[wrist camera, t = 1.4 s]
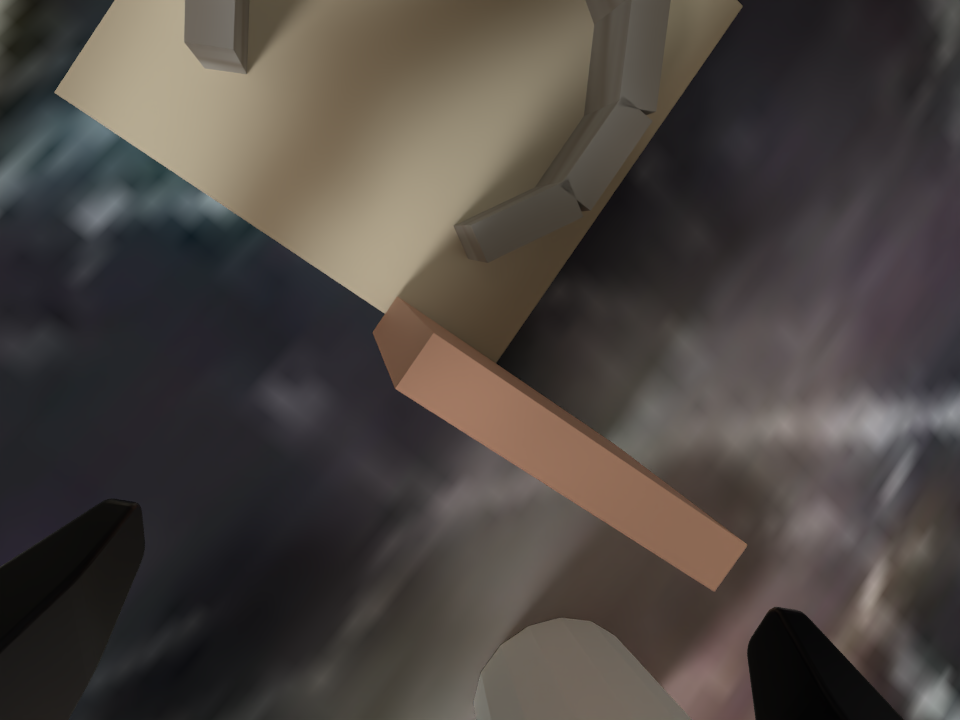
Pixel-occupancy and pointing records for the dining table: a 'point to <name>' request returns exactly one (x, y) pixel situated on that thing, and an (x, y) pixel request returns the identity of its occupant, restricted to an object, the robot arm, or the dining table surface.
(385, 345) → the block
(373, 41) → the dock
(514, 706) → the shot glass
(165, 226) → the dining table surface
